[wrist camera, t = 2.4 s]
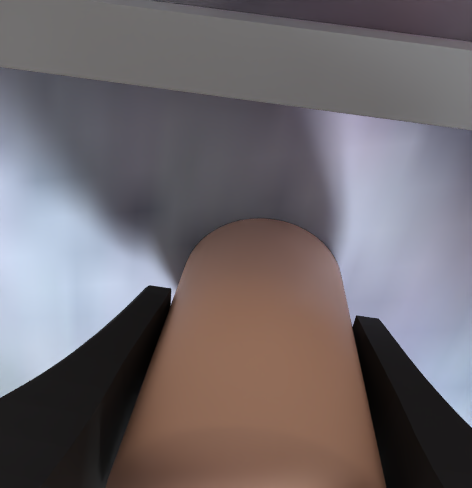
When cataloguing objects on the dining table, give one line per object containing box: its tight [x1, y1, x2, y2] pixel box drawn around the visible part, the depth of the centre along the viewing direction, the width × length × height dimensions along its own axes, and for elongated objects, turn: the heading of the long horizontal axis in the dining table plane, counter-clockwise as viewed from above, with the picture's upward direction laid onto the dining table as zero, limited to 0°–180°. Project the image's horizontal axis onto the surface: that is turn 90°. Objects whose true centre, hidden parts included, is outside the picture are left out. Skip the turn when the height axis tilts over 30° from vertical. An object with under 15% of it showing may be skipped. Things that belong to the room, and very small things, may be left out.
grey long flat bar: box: [0, 0, 472, 130], centre depth 9 cm, size 20×1×4 cm, turn 84°
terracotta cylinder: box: [106, 218, 386, 488], centre depth 11 cm, size 5×5×7 cm
